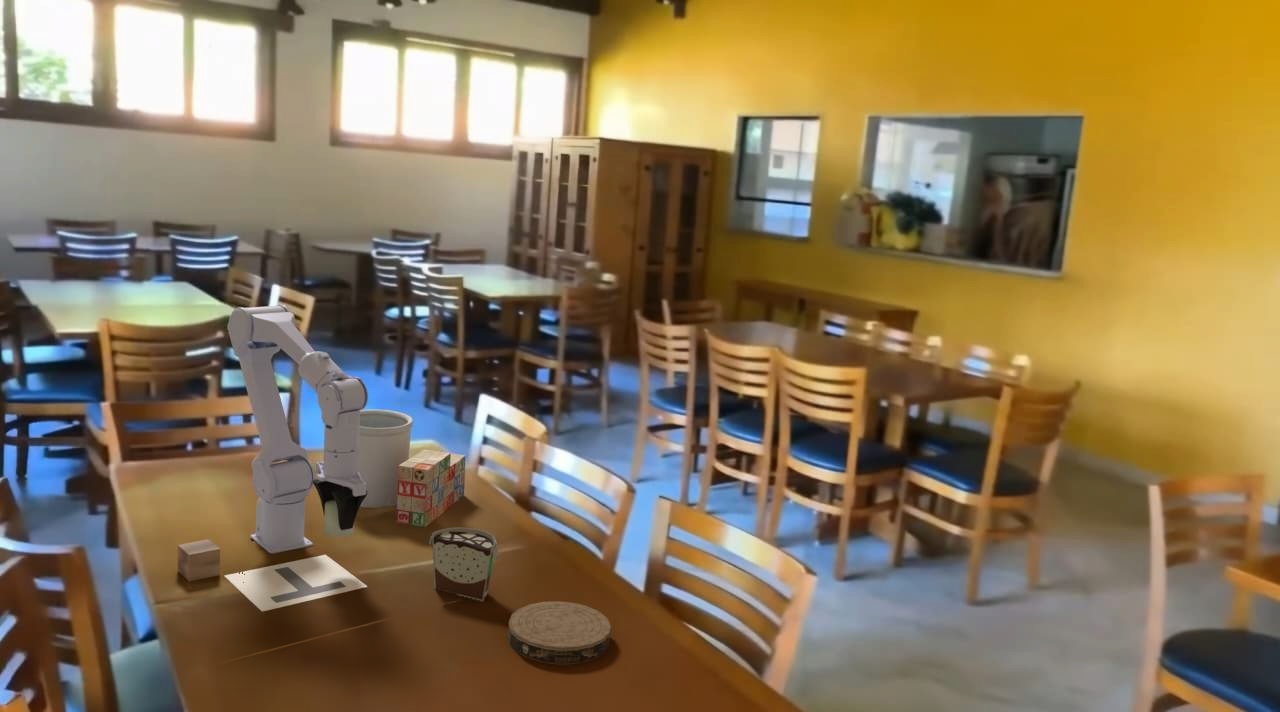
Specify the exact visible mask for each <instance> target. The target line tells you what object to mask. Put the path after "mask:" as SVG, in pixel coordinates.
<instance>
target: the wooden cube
mask: <svg viewBox="0 0 1280 712" xmlns="http://www.w3.org/2000/svg"><path fill="white" fill-rule="evenodd" d="M220 554H221V549H220V547H218V546H217V545H216V544H215V543H213V541H211V540H210V539H209V538H208V539H207V538H206V539H202V540H198V541H197V540H196V541H192V542H186V543H182V544H177V572H178V573H179V574H180V575H181V576H183V578H184V579H185V580H187V581H188V582H189V583H190V582H194V581H198V580H203V579H209V578H212V577H216V576H220V574H221V573H220V572H221V571H220V569H221V568H220V567H221V566H220V565H221V563H220V562H221V555H220Z"/></svg>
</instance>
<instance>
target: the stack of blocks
mask: <svg viewBox="0 0 1280 712" xmlns="http://www.w3.org/2000/svg"><path fill="white" fill-rule="evenodd" d="M465 480H466V455H464V454H458V453H451V452H445V451H437V450H433V449H432V450H430V449H426V448H425V449H422V450H420V451H419V452H418V453H416V454H415V455H412V456H411V457H409V459H408V460H407V461H405V462H403V463H402V464H400V465H399V471H398V487H397V504H396V517H395V518H396V519H395V523H396V524H401V525H402V524H403V525H407V526H409V525H410V526H416V527H421V528H425V527H427V526H428V525H430V523H433V522H434V521H435V520H436V519H438V518H439V517H441V515H442V514H443V513H444V512H445V511H446V510H448V509H449V508H450V507H451V506H452V505H453V504H455V503H457V502H458V501H459V500H460V499H462V497H464V496H465V483H466V482H465Z"/></svg>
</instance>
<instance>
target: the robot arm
mask: <svg viewBox="0 0 1280 712" xmlns="http://www.w3.org/2000/svg"><path fill="white" fill-rule="evenodd" d="M226 327H227V330H228V331H227V332H228V335H229V338H230V343H231V347H232V349H233V353H234V356H236V357H237V358H238V361H239V365H240V369H241V372H242V375H243V376H242V377H243V380H244V385H245V388H246V392H247V396H248V399H249V403H250V407H251V410H252V415H253V419H254V423H255V426H256V429H257V433H258V438H259V441H260V445H261V450H260V451H259V453H257V455H256V456H255V457H254V459H253V460H252V462H251V464H250V465H251V469H252V487H253V491H254V492H255V494H256V496H258V500H257V501H256V508H255V533H254V534H252V533H251V534H250V538H251V539H252V540H253V541H255V543H257V544H258V545H259V546H261V547H262V548H263V549H264V550H266V551H267V553H269V554H277V553H281V552H282V553H283V552H287V551H292V550H297V549H301V548H302V549H303V548H308V547H312V546H313V545H314V544H313V542H312V541H310V539H308V538H306V537H305V515H306V513H305V510H306V509H305V508H306V497H309V493H310V492H309V491H310V490H312V489H313V488H314V487H315V489H316V491H317V493H318V496H319V499H320V503H321V507H322V513H323V517H324V518H325V503H326V502H327V501H330V500H335V501H336V505H337V509H338V520H339V527H340V529H341V530H346V529H351V528H353V525H354V526H355V521H356V520H357V519H356V518H357V516H358V512H359V509H360V508H361V507H360V505H361V503H362V502H363V500H364V498H365V497H366V496H367V490H366V483H364V482H363V481H362V478H361V476H360V474H359V472H358V451H359V426H360V410H365V408H366V406H367V405H368V401H369V393H368V388H367V386H366V384H365V383H364V381H363V380H362V378H360V377H358V376H351V375H350V374H348V375H347V374H346V373H345V372H344V371H343V370H342V369H341V367H339V366H338V364H337V363H335V361H333V360H332V358H331V357H330V355H329V353H327V352H326V351H325V352H324V351H320V350H319V351H318V350H317V351H315V350H314V349H313V348H312V346H311V345H310V343H308V341H307V340H306V338H305V337H304V336H303V335H302V333H301V332H300V331H299V329H298V328H297V327H296V317H295V315H294V313H292V312H291V311H290V309H289V308H288V306H286V305H284V304H277V305H267V306H255V307H254V306H253V307H241V306H239V307H236V308H234V309H233V311H232V312H231V314H230V316H229V319H228V323H227V325H226ZM280 350H282V351H283V352H284V353H286V354H287V355H288V356H289V357H290V358H291V359H292V360H293V361H295V362H296V363H297V364H298V369H297V370H298V371H297V372H298V375H299V376H300V377H301V378H302V380H304V381H305V383H306V384H307V385H308V386H309V387H310V388H311V389H312V390H313V391H314V392H315V394H317V404H318V406H319V408H320V412H321V421H322V424H324V431H323V461H316V462H315V466H314V464H313V463H312V462H311V460H310V458H309V455H308V451H307V449H306V448H304V447H302V446H301V445H299V444H298V443H295V442H294V441H293V439H292V436H291V432H290V429H289V425H288V422H287V416H286V413H285V410H284V406H283V402H282V399H281V395H280V391H279V388H278V387H279V386H278V383H277V380H276V375H275V372H274V368H273V365H272V364H273V363H272V358H273V355H275V354H277V353H278V352H280ZM282 461H283V462H282ZM277 462H278V463H277ZM272 463H273V464H272Z"/></svg>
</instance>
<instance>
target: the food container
mask: <svg viewBox="0 0 1280 712" xmlns="http://www.w3.org/2000/svg"><path fill="white" fill-rule="evenodd" d="M428 543H429V545H432V561H433V563H432V564H433V583H434V584H433V586H434V589H435V590H440V591H444V592H447V593H451V594H455V595H457V596H458V595H459V597H462V596H464V597H463V598H466V597H468V599H470V598H472V599H471V600H475V599H476V601H479V600H480V602H484V601H486V600H487V597H488V591H489V586H490V580H491V574H492V568H493V563H494V559H495V558H496V557H498V554H499V549H498V543H497V541H496V538H495V536H494V535H493V534H491V533H490V532H487V531H485V530H482V529H478V528H470V527H448V528H443V529H439V530H435V531H434V532H432V534H431V536H430V539H429V542H428Z"/></svg>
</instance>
